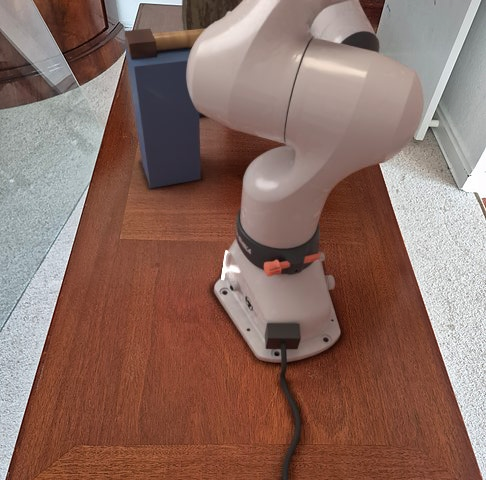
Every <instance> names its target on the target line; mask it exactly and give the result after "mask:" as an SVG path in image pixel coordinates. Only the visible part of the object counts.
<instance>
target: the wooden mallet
mask: <svg viewBox="0 0 486 480" xmlns="http://www.w3.org/2000/svg"><path fill="white" fill-rule="evenodd" d="M204 30H205V29H196V30H185V31H184V30H177V31H166V32H156V33H153V32H152V30H151V28H142V29H141V28H140V29H129V30H124V31H123V32H124V38H125V40H124V41H126V47H127V49H128V52H129V54H130V57H131V59H140V58H149V57H157V51H162V50H171V49H181V48H190V47H193V45H194V43H195V41H196V40H197V38H198V37H199V36H200V34H201V33H202V32H203V31H204Z"/></svg>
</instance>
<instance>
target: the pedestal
mask: <svg viewBox="0 0 486 480" xmlns="http://www.w3.org/2000/svg"><path fill="white" fill-rule="evenodd" d="M123 43H124V49H125V56H126V62H127V69H128V77H129V85H130V91H131V97H132V104H133V111H134V117H135V125H136V132H137V138H138V146H139V152H140V159H141V164H142V167H143V170H144V174H145V177H146V180H147V182H148V185H149V189H154V188H161V187H166V186H172V185H177V184H183V183H187V182H189V183H190V182H194V181H200V180H201V178H202V177H201V176H202V175H201V137H200V136H201V129H200V128H201V127H200V126H201V125H200V124H201V123H200V121H201V120H200V117H199V112H198V111H197V110H196V108H195V106H194V105H193V103H192V100H191V98H190V95H189V92H188V88H187V81H186V69H187V62H188V58H189V54H190V51H191V49H192V47H190V48H181V49H171V50H162V51H157V57H149V58H140V59H131V57H130V54H129V52H128V49H127V47H126V40H124V42H123Z"/></svg>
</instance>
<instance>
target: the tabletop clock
mask: <svg viewBox="0 0 486 480" xmlns="http://www.w3.org/2000/svg"><path fill="white" fill-rule="evenodd" d="M242 1H243V0H181V21H182V28H183V30H182V31H185V30H196V29H206V28H207V27H209V26H210V25H211V24H213V23H214V22H215V21H218V20H220V19H222V18H223V17H225V15H226V14H227V12H228V11H233V10H234V9H235V8H236V7H237V6H238V5H239V4H240V3H241V2H242Z"/></svg>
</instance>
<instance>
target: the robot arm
mask: <svg viewBox="0 0 486 480" xmlns="http://www.w3.org/2000/svg"><path fill="white" fill-rule="evenodd" d="M380 48H381V47H380V40H379V38H378V36H377V34H376V32H375V30H374V28H373V26H372V23H371V22H370V20H369V19H368V17H367V15H366V13H365V11H364V9H363V7H362V5H361V3H360V0H243V1H242V2H241V3H240V4H239V5H238V6H237V7H236V8H235V9H234V10H233V11H228V12H227V14H226V15H225V17H223V18H222V19H220V20H218V21H215V22H214V23H213V24H211V25H210V26H209V27H207V28H206V29H205V30H204V31H203V32H202V33H201V34H200V36H199V37H198V38H197V40H196V41H195V43H194V45H193V47H192V49H191V51H190V54H189V58H188V62H187V69H186V81H187V88H188V92H189V95H190V98H191V100H192V103H193V105H194V106H195V108H196V110H197V111H198V112H199V113H201V114H203V115H205V116H204V117H207V118H208V119H210V120H212V121H214V122H216V123H218V124H220V125H222V126H224V127H226V128H228V129H230V130H233V131H236V132H239V133H243V134H247V135H250V136H255V137H259V138H263V139H266V140H270V141H274V142H277V143H281V144H285V145H283V146H278V147H274V148H271V149H269V150H267V151H265V152H263V153H262V154H260V155H259V156H257V157H255V159H253V160H252V161H251V162H250V164H248V166H247V168H246V169H245V172H244V175H243V178H242V189H241V201H240V208H239V209H238V212H237V215H236V216H237V217H236V219H235V220H236V221H235V239H234V240H233V242H232V243H231V245H230V247H229V248H228V250H225V252H224V258H223V264H222V265H223V267H222V272H221V277H220V278H219V279H218V280H217V281H216V282H215V284H214V286H213V293H214V295H215V296H216V298H217V300H218V301H219V302H220V304H221V305H222V307H223V309H224V310H225V311H226V313H227V315H228V316H229V318H230V320H231V321H232V322H233V324H234V326H235V327H236V329H237V330H238V331H239V333H240V334H241V336H242V338H243V339H244V341H245V342H246V344H247V346H248V347H249V348H250V350H251V352H252V353H253V355H254V357H256V358H257V359H258V360H260V361H262V362H267V363H273V364H274V363H280V364H281V365H280V366H281V368H280V372H279V381H280V384H281V388H282V391H283V392H284V395H285V397H286V399H287V401H288V404H289V406H290V408H291V410H292V414H293V417H294V425H295V430H294V434H293V437H292V440H291V442H290V445H289V447H288V449H287V452H286V453H285V455H284V456H285V457H284V459H283V464H282V470H281V478H282V479H281V480H289V467H290V462H291V459H292V457H293V454H294V452H295V450H296V448H297V446H298V443H299V440H300V436H301V432H302V431H301V430H302V421H301V420H302V419H301V416H300V411H299V409H298V407H297V404H296V401H295V400H294V398H293V396H292V393H291V392H290V389H289V387H288V383H287V379H286V373H287V371H288V369H287V368H288V363H289V362H297V361H300V360H305V359H307V358H310V357H313V356H316V355H318V354H320V353H322V352H325V351H326V350H328V349H330V348H331V347H333V345H334V344H335V343H336V342H337V341H338V340H339V339H340V337H341V328H340V325H339V321H338V318H337V314H336V311H335V308H334V304H333V301H332V298H331V295H330V291H331V290H334V289H335V286H336V281H335V277H334V275H332V274H327V275H325V270H324V266H323V261H325V259H326V257H325V256H326V255H325V252H324V251H320V239H321V230H320V218H321V216H322V212H323V210H324V206H325V204H326V201H327V199H328V197H329V196H330V193H331V192H332V190H333V189H334V188H335V187H336V186H337V185H338V184H339V183H340V182H341V181H343V180H344V179H346V178H347V177H348V176H350V175H352V174H354V173H356V172H358V171H361V170H362V169H365V168H368V167H371V166H372V167H373V166H375V165H380V164H385V163H386V162H388V161H390V160H392V159H393V158H395V157H396V156H398V154H400V153H401V152H402V151H403V150H404V149H405V148H406V147H407V146H408V145H409V144H410V142H412V139H414V136H415V134H416V133H417V131H418V129H419V127H420V124H421V121H422V118H423V113H424V105H425V103H424V100H425V99H424V91H423V86H422V82H421V80H420V77H419V75H418V73H417V72H416V70H414V69H413V68H411V67H409V66H407V65H405V64H403V63H400V62H399V61H397V60H394V59H393V58H390V57H388V56H386V55H384V54H382V53H380ZM275 354H277V355H275Z"/></svg>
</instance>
